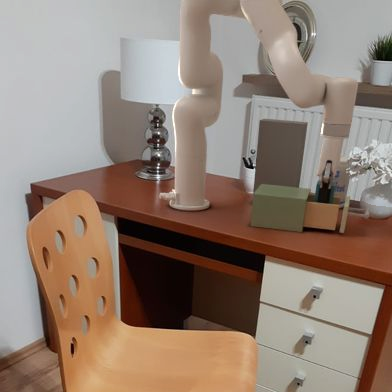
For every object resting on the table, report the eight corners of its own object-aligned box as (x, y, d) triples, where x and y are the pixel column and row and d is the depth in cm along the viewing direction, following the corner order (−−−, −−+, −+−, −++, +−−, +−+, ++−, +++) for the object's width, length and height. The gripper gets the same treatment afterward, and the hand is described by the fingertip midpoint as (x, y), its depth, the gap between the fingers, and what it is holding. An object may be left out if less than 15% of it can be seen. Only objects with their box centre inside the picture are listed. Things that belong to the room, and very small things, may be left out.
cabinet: (306, 219, 156) (311, 188, 151) (301, 232, 145) (306, 199, 141) (258, 214, 159) (261, 183, 154) (250, 226, 148) (253, 193, 144)
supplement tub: (321, 209, 166) (329, 161, 158) (310, 201, 174) (316, 155, 166) (349, 209, 168) (358, 161, 160) (337, 201, 176) (345, 155, 168)
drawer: (366, 224, 151) (371, 198, 147) (365, 235, 141) (371, 208, 138) (299, 216, 155) (302, 191, 151) (294, 227, 146) (298, 201, 142)
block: (332, 204, 143) (335, 186, 140) (313, 202, 144) (316, 184, 142) (333, 200, 147) (336, 182, 145) (315, 198, 148) (318, 180, 146)
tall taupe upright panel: (297, 205, 170) (308, 122, 157) (293, 209, 165) (304, 124, 152) (257, 199, 174) (264, 118, 161) (251, 203, 169) (258, 120, 156)
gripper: (323, 125, 144) (313, 192, 153) (317, 133, 130) (307, 206, 139) (350, 127, 143) (338, 194, 152) (348, 136, 128) (335, 209, 138)
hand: (323, 199), depth 145 cm, fingers closed on block, 5 cm apart
